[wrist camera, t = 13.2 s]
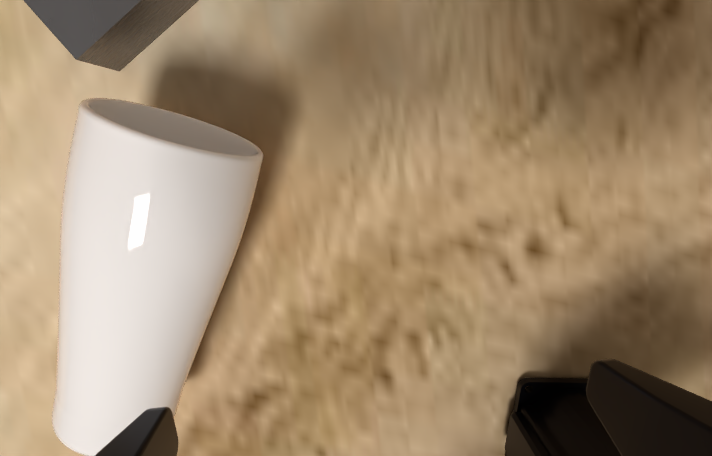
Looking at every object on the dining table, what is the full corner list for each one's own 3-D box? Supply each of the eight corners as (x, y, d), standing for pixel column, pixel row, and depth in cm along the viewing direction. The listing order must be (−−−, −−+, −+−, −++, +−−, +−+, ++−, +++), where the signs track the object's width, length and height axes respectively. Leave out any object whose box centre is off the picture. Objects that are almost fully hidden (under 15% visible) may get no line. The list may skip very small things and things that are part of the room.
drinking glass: (82, 357, 22) (129, 94, 18) (203, 382, 23) (273, 144, 19) (-13, 466, 16) (25, 96, 11) (162, 491, 17) (254, 171, 13)
